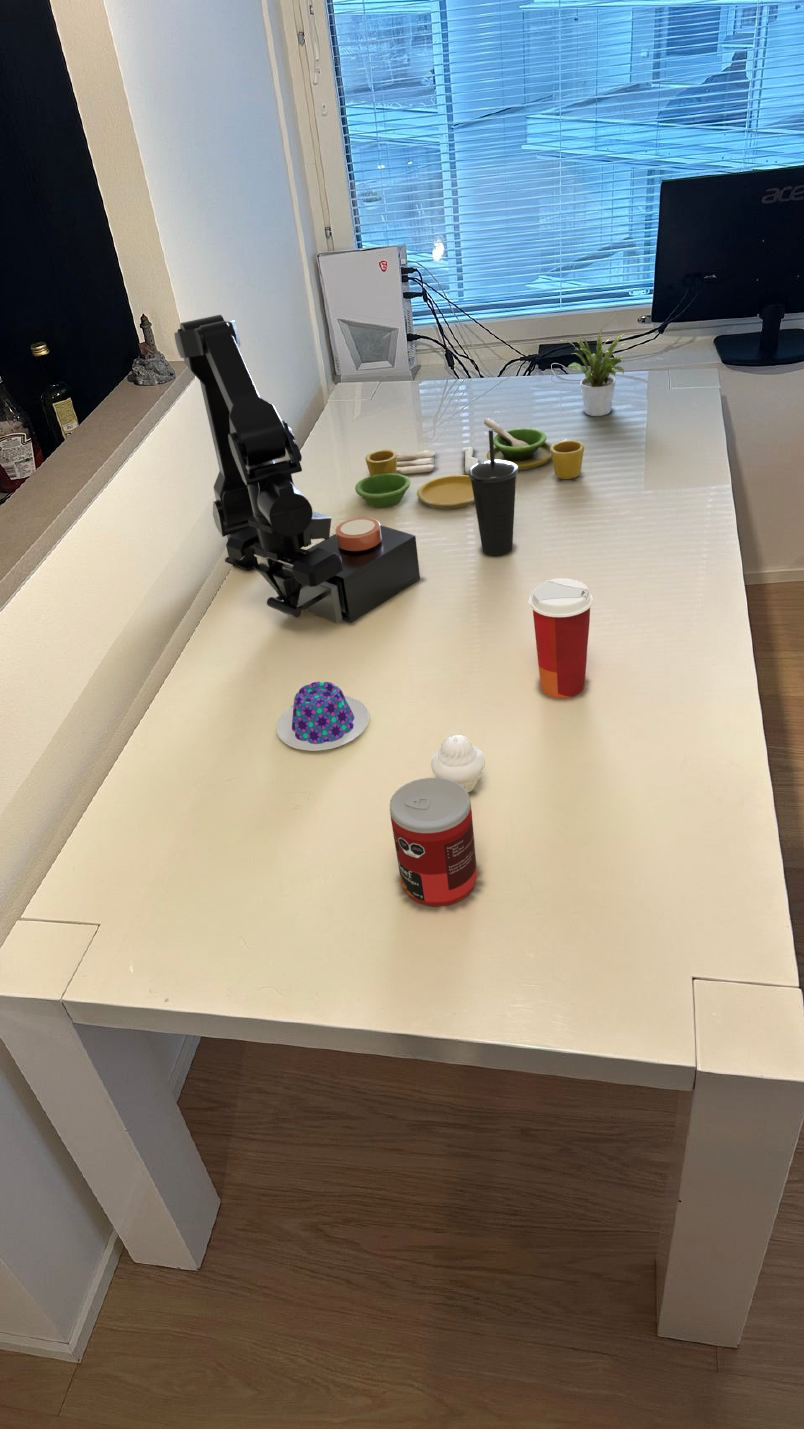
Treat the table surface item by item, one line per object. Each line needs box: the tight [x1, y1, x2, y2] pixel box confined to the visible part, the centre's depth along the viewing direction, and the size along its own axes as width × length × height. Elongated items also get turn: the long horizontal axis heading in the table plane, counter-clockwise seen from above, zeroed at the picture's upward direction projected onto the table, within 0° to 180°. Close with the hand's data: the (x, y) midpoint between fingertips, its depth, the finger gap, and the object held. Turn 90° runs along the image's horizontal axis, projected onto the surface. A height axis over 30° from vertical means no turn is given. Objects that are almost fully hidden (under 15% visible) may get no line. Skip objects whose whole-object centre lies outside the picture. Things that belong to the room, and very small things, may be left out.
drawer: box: [266, 578, 346, 624], centre depth 152 cm, size 20×10×6 cm, turn 138°
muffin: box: [430, 734, 486, 794], centre depth 115 cm, size 6×6×7 cm
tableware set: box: [354, 417, 585, 509], centre depth 186 cm, size 41×28×6 cm
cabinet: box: [306, 524, 421, 624], centre depth 155 cm, size 16×12×8 cm
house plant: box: [557, 329, 627, 417], centre depth 203 cm, size 14×14×16 cm
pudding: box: [275, 681, 370, 752], centre depth 128 cm, size 12×12×5 cm
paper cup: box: [527, 577, 594, 699], centre depth 127 cm, size 8×8×14 cm
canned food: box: [389, 777, 478, 907], centre depth 102 cm, size 8×8×11 cm
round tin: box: [334, 517, 382, 551], centre depth 153 cm, size 7×7×3 cm
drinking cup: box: [467, 428, 519, 557], centre depth 158 cm, size 8×8×20 cm
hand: (293, 606), depth 148 cm, fingers closed
